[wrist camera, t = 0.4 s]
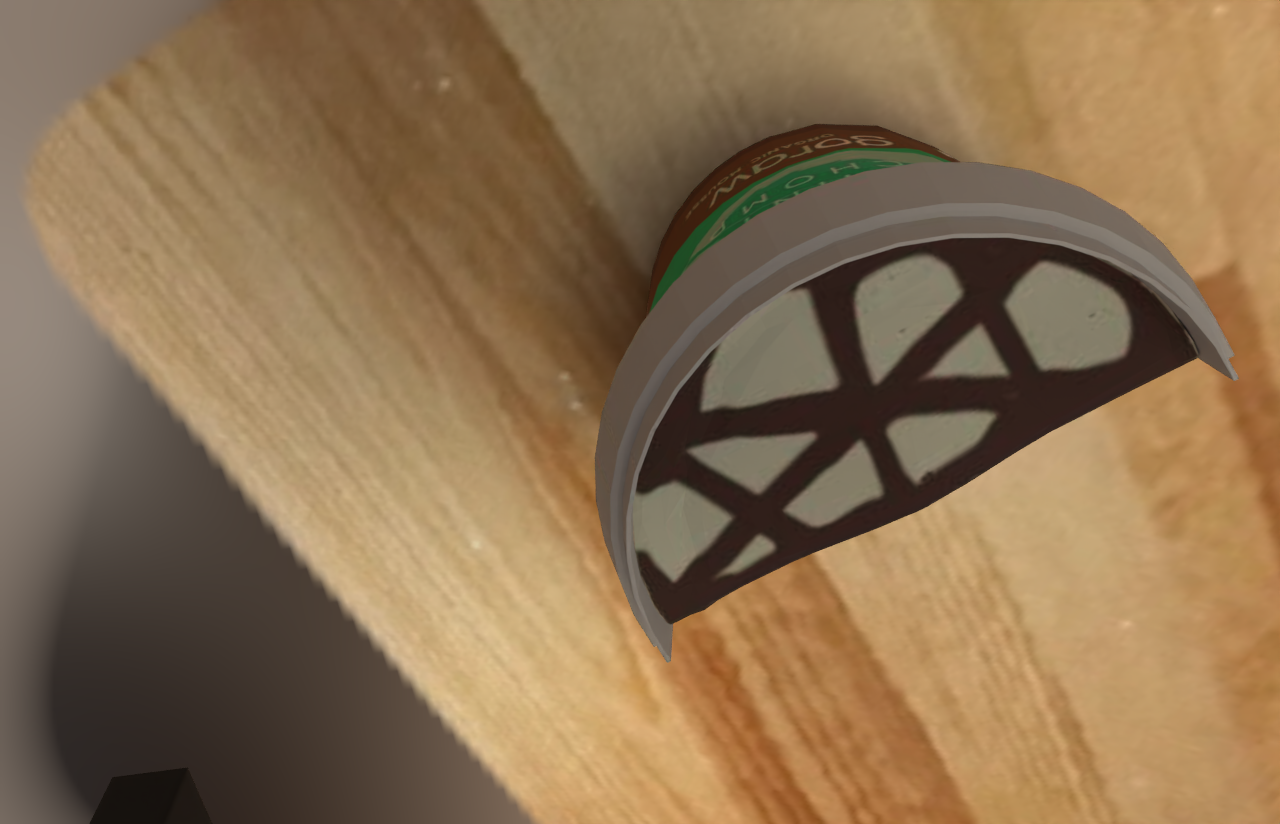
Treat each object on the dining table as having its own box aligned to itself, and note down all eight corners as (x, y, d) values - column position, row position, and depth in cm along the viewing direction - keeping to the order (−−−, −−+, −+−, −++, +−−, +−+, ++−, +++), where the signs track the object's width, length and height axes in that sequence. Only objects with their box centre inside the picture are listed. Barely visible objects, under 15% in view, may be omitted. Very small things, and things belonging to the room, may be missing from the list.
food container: (955, -38, 26) (1146, 41, 17) (1057, 190, 28) (1270, 364, 19) (499, 241, 28) (455, 437, 19) (629, 426, 31) (643, 675, 22)
